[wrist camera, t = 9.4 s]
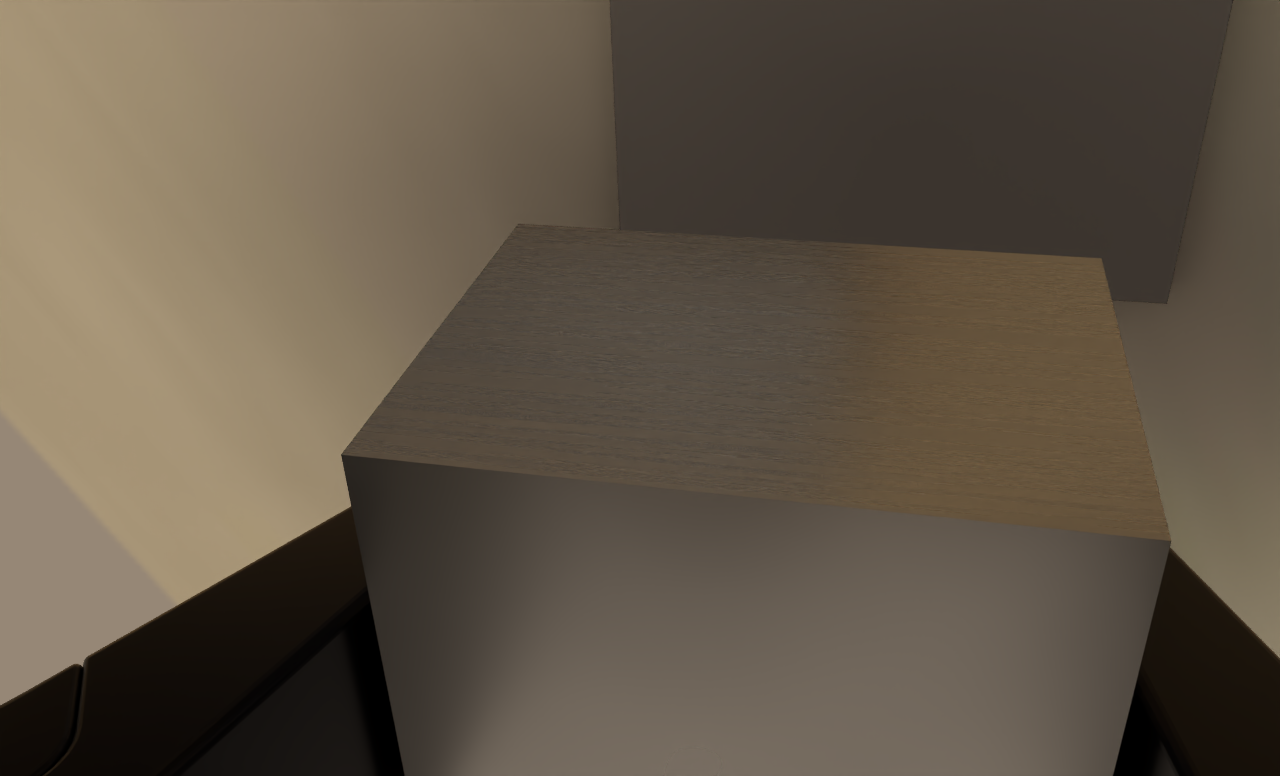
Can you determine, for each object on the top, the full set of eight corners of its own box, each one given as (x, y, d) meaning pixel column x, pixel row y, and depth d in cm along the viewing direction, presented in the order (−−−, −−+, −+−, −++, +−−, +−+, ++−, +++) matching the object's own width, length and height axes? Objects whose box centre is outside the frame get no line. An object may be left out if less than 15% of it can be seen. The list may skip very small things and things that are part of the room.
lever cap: (1102, 258, 8) (1169, 540, 5) (1017, 716, 10) (1039, 1069, 7) (518, 223, 9) (342, 454, 6) (558, 654, 11) (440, 953, 8)
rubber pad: (1258, -160, 14) (1267, -157, 14) (1163, 291, 17) (1167, 303, 17) (610, -155, 16) (603, -151, 16) (627, 257, 19) (621, 267, 19)
